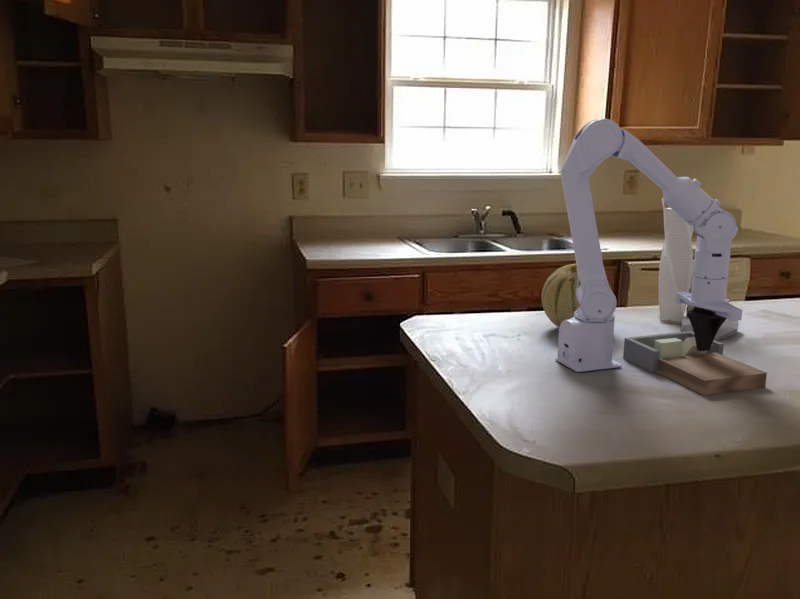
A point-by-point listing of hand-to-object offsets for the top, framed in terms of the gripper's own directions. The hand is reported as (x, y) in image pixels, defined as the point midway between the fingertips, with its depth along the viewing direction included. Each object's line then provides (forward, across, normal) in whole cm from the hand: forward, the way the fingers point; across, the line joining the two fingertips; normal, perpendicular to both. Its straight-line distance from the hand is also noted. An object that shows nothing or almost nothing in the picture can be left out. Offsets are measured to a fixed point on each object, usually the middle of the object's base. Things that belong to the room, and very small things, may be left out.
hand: (703, 349), depth 131 cm
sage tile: (+1, +2, +6) cm, 6 cm away
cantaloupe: (+4, +30, +9) cm, 31 cm away
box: (+3, +5, +3) cm, 6 cm away
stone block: (+4, +18, -18) cm, 26 cm away
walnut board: (+3, -5, +3) cm, 7 cm away
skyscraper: (+4, +31, -17) cm, 36 cm away
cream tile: (+1, +2, 0) cm, 2 cm away
